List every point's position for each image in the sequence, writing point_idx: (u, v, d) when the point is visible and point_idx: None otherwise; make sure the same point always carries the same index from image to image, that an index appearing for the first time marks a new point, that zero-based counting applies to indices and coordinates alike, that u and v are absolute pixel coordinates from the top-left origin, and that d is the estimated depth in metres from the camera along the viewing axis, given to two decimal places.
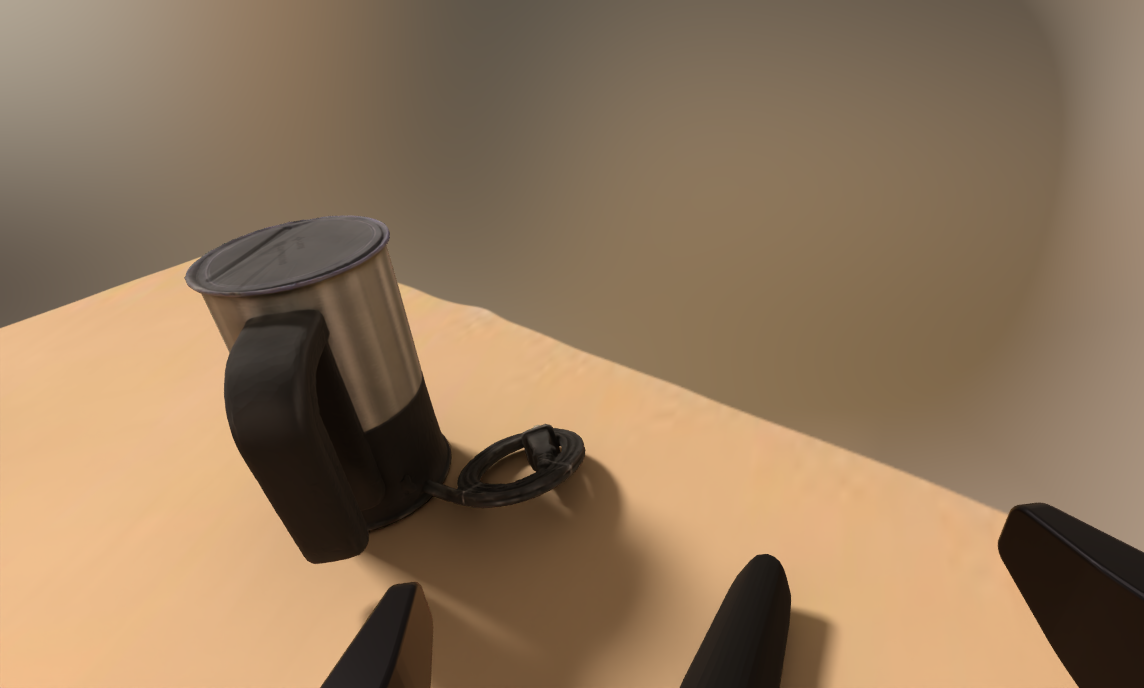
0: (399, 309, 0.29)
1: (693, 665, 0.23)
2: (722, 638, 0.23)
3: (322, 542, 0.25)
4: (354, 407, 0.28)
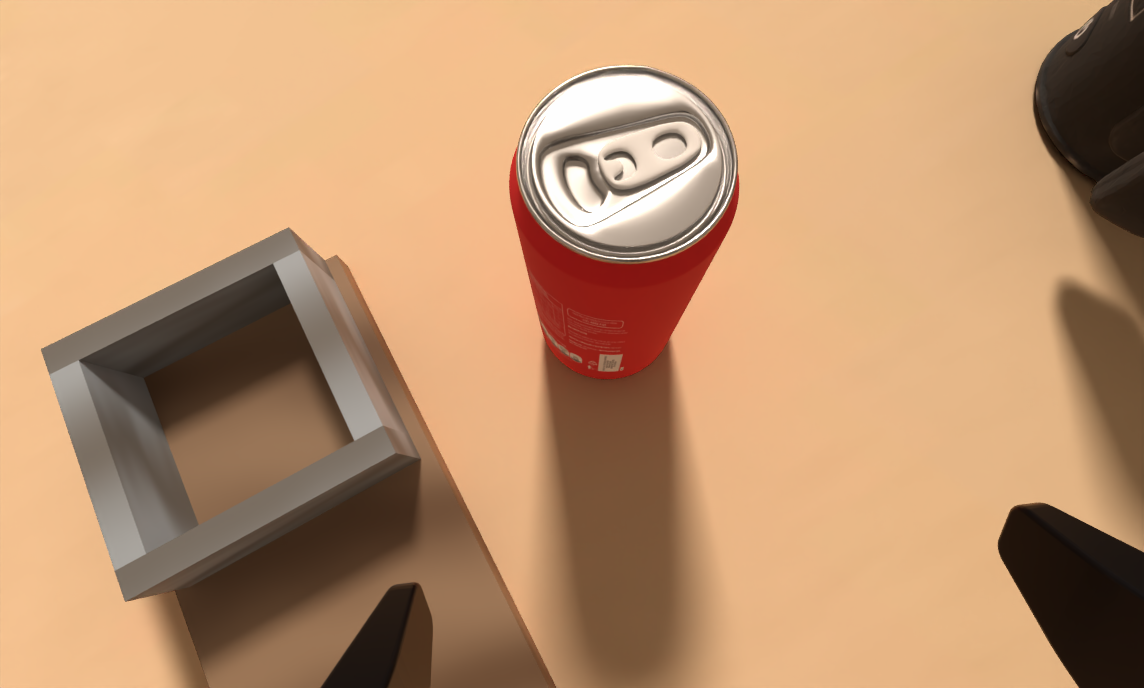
0: None
1: None
2: None
3: None
4: None
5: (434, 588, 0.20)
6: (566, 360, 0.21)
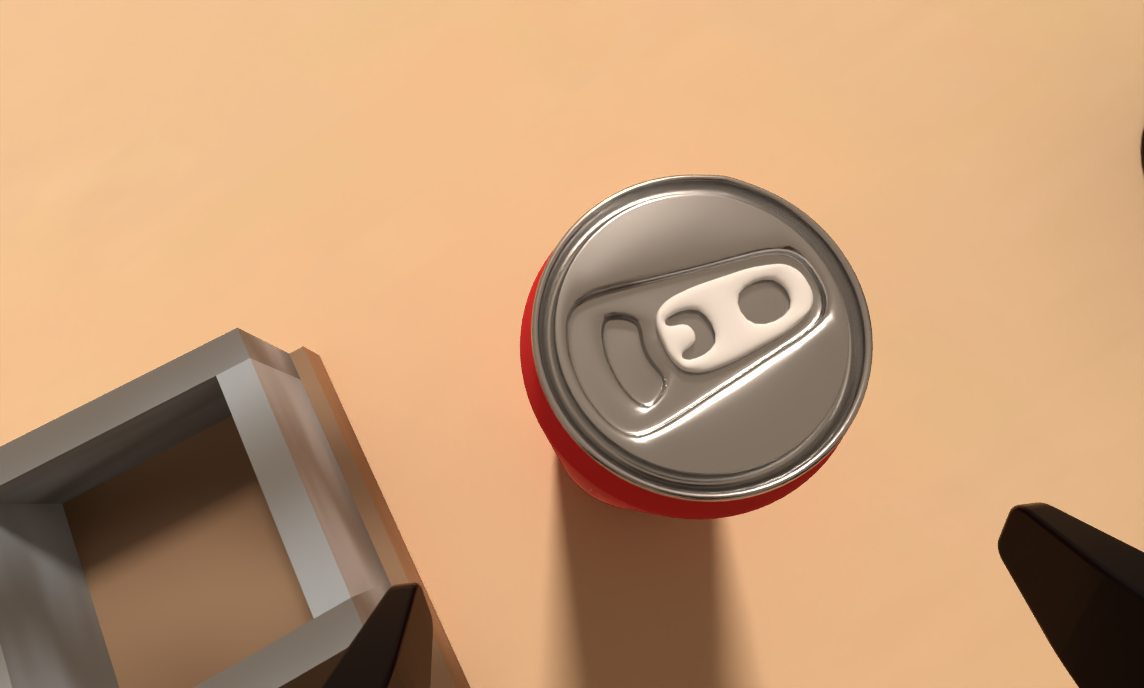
0: None
1: None
2: None
3: None
4: None
5: None
6: (586, 491, 0.17)
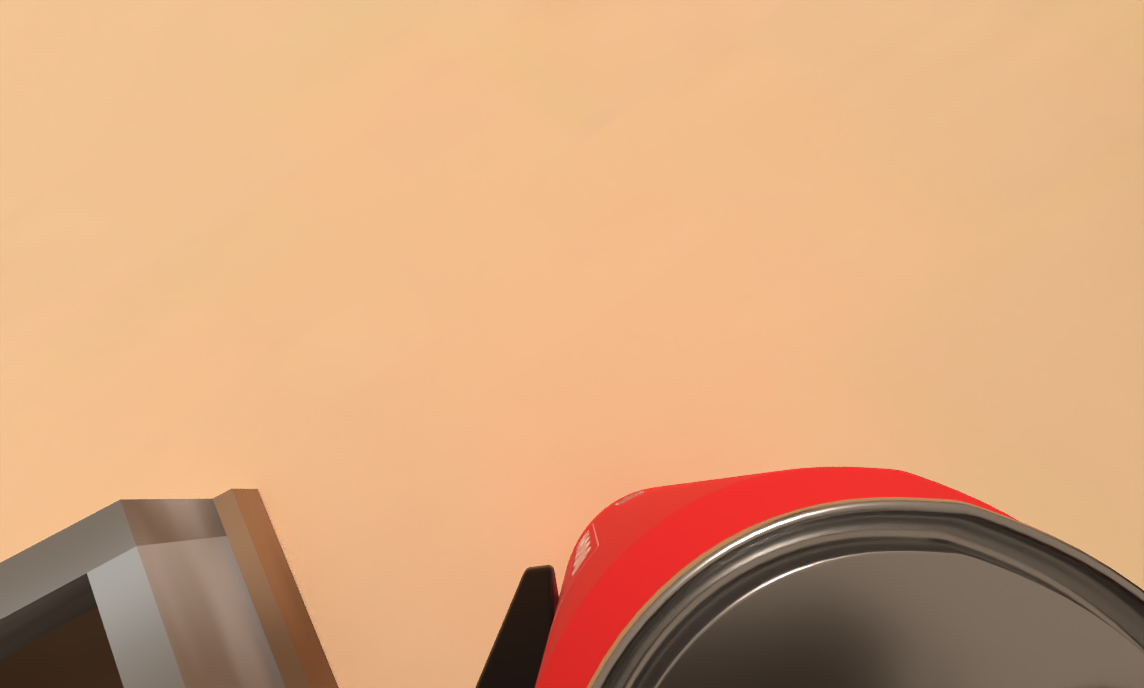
0: None
1: None
2: None
3: None
4: None
5: None
6: None
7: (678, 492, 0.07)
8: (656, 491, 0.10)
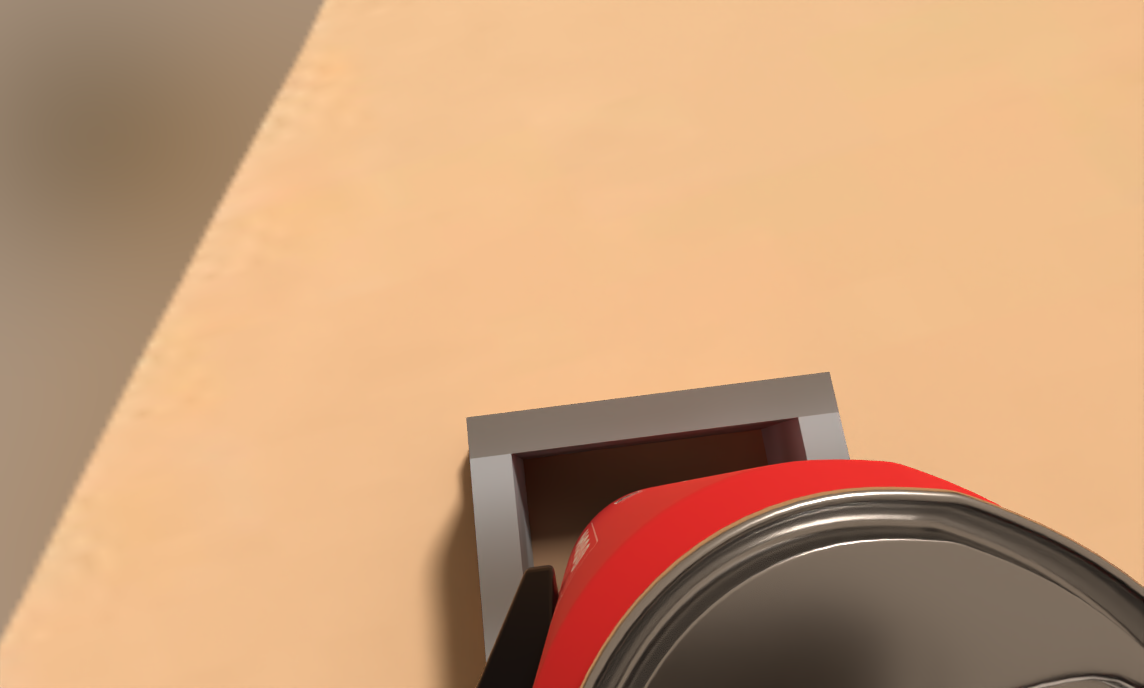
0: None
1: None
2: None
3: None
4: None
5: None
6: None
7: (676, 487, 0.07)
8: (654, 489, 0.10)
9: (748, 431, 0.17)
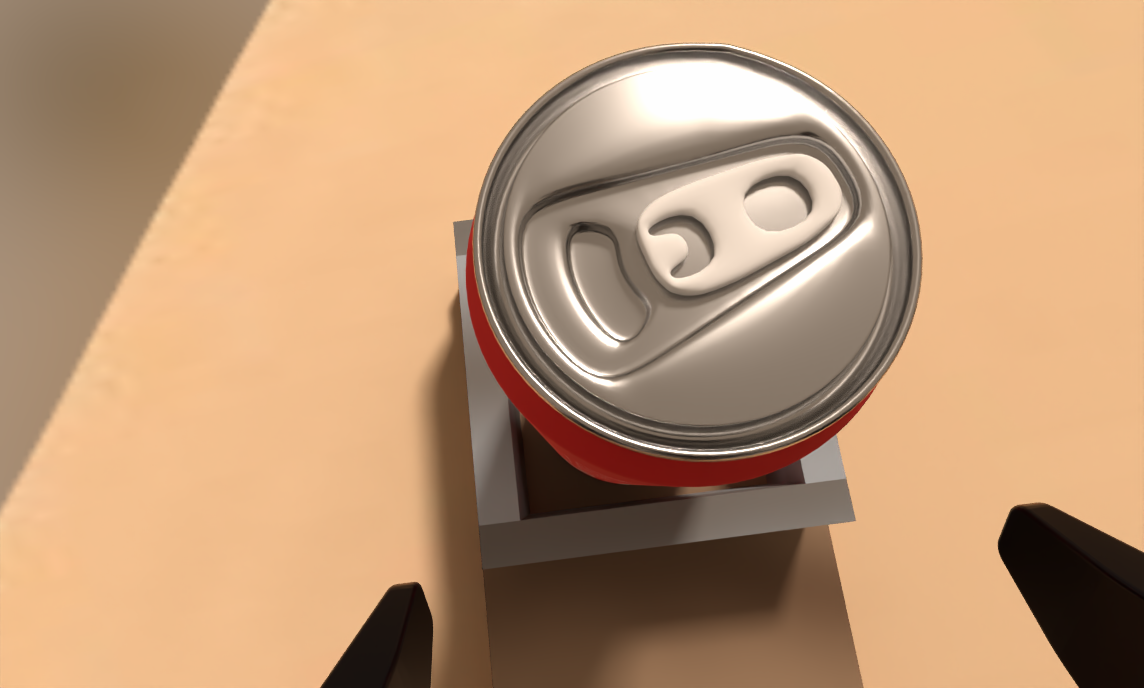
0: None
1: None
2: None
3: None
4: None
5: (787, 682, 0.16)
6: None
7: None
8: None
9: None
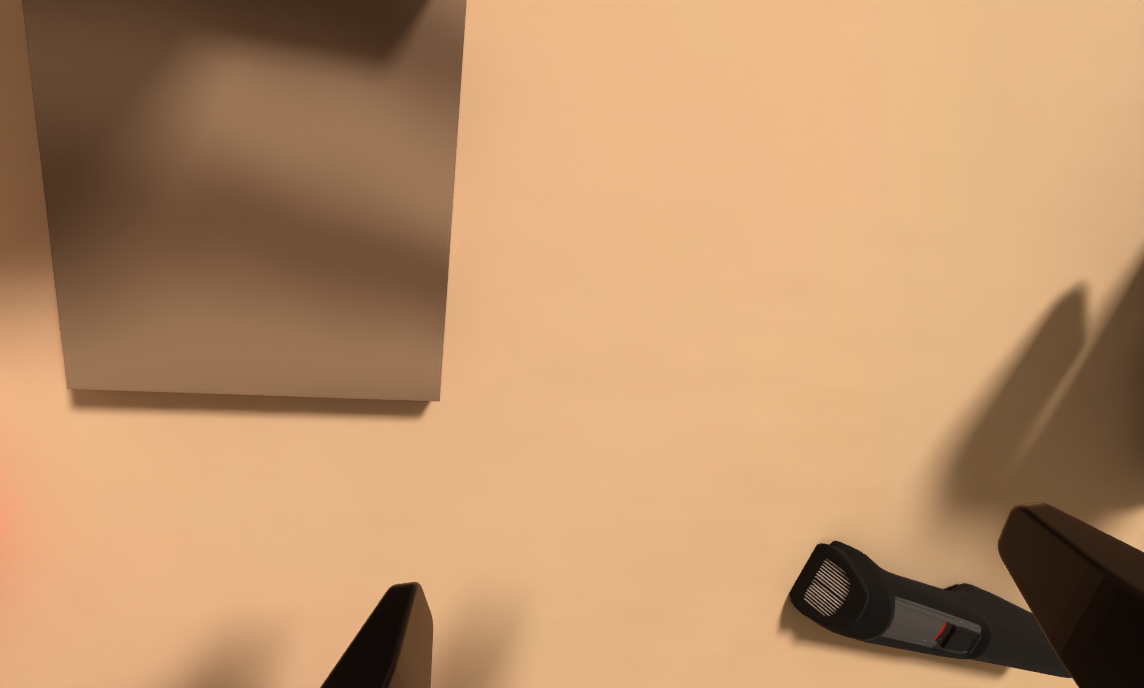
0: None
1: (1001, 606, 0.27)
2: (1027, 642, 0.27)
3: None
4: None
5: (381, 133, 0.16)
6: None
7: None
8: None
9: None
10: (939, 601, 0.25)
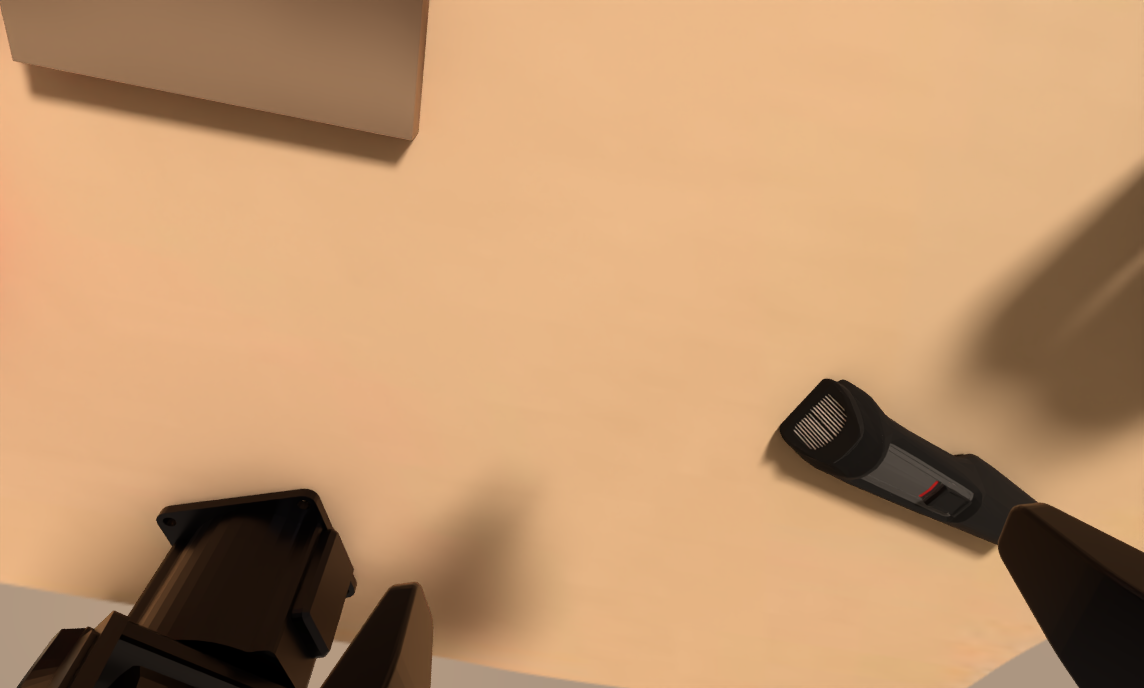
0: None
1: (1002, 483, 0.26)
2: None
3: None
4: None
5: None
6: None
7: None
8: None
9: None
10: (936, 458, 0.24)
